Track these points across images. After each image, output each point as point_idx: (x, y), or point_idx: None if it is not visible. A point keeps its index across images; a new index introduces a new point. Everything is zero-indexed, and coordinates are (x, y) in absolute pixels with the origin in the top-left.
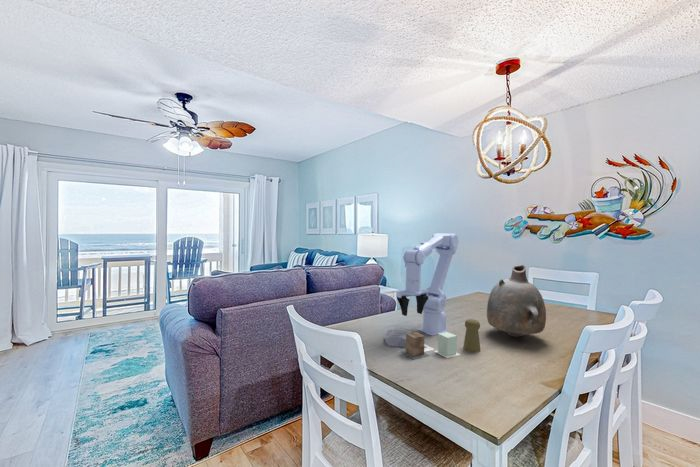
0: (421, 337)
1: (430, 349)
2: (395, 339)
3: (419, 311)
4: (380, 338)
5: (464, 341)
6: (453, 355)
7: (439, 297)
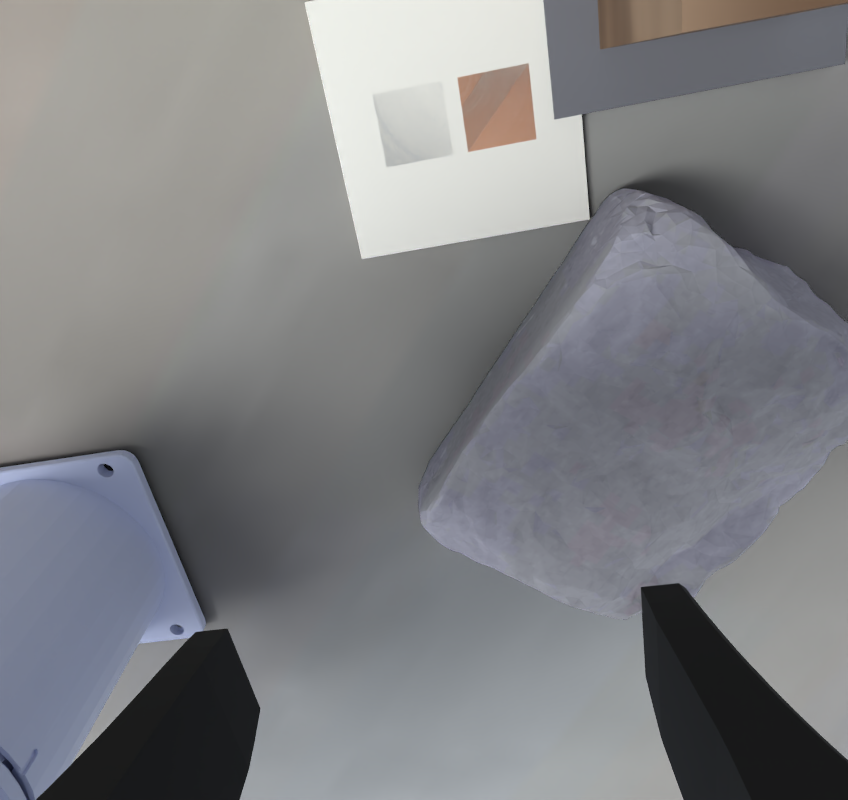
0: None
1: (368, 15)
2: (802, 311)
3: (225, 695)
4: (766, 538)
5: None
6: None
7: None
